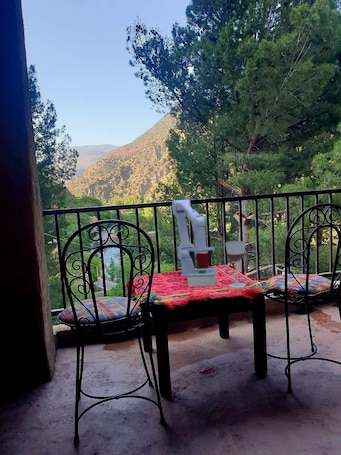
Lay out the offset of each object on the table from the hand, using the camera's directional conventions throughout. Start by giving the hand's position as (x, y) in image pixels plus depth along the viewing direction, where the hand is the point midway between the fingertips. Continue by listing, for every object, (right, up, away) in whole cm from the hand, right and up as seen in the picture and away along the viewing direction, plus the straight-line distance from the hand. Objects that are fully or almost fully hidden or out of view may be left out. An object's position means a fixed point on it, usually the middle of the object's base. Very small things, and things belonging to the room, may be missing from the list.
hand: (201, 265), depth 190 cm
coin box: (+1, -9, +1) cm, 10 cm away
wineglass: (+17, -9, -9) cm, 21 cm away
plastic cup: (+4, -6, +30) cm, 31 cm away
